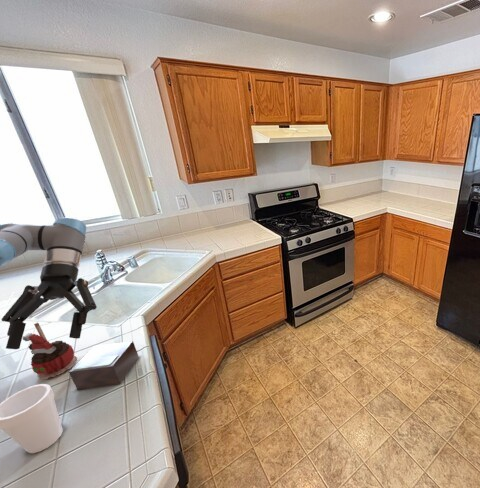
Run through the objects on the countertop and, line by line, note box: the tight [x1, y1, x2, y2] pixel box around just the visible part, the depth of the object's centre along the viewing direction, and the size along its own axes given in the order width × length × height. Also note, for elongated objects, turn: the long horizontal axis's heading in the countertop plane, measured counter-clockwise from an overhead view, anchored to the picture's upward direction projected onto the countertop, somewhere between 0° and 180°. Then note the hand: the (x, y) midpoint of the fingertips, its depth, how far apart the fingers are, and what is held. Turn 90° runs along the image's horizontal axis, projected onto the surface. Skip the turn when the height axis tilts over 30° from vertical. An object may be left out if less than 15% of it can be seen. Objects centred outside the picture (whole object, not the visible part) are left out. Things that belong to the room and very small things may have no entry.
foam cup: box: [0, 383, 64, 454], centre depth 63 cm, size 10×9×13 cm
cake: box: [22, 322, 78, 380], centre depth 84 cm, size 11×9×18 cm
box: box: [68, 340, 140, 391], centre depth 83 cm, size 12×11×7 cm
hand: (44, 343), depth 68 cm, fingers open, 13 cm apart
